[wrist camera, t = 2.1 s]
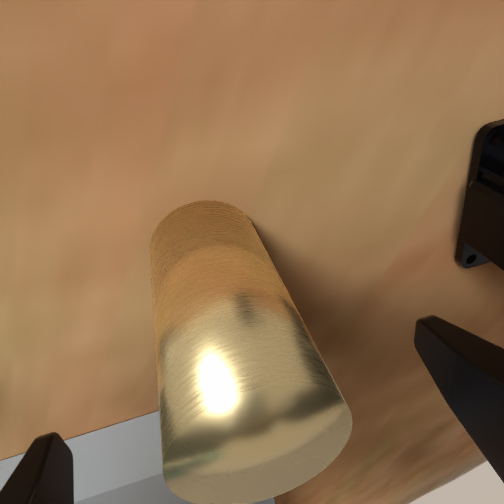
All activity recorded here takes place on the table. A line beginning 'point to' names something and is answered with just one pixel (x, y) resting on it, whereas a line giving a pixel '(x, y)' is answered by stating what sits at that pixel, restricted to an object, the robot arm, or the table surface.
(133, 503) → the jig
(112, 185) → the table surface
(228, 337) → the brass cylinder
